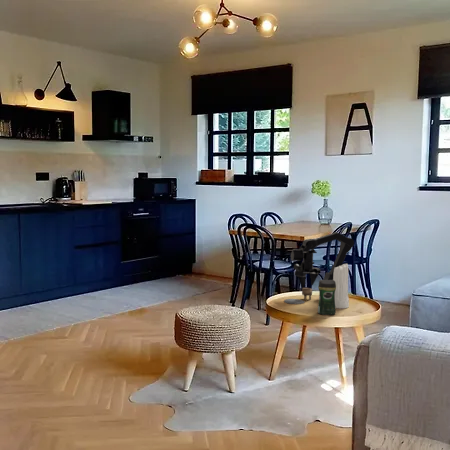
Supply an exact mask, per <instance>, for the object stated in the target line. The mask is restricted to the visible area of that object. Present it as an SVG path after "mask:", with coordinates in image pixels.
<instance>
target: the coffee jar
mask: <svg viewBox="0 0 450 450" xmlns="http://www.w3.org/2000/svg"><path fill="white" fill-rule="evenodd" d="M317 289H318V291H319V294H318V302H317V303H318V304H317V305H318V306H317V313H318V315H324V316H332V315H335V314H336V309H337V308H335V290H336V283H335V281H334V280H324V279H319V280H318V287H317Z"/></svg>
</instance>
